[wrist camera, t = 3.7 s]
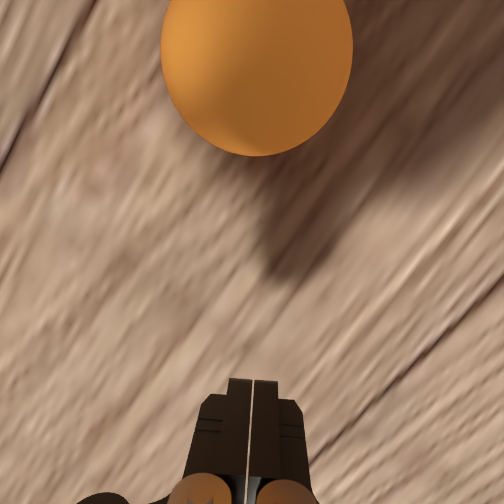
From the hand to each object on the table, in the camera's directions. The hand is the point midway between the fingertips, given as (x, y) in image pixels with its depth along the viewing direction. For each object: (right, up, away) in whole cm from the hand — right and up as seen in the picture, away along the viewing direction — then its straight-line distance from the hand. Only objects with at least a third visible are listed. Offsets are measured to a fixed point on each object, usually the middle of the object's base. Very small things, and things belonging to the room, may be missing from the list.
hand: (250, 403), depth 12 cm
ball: (0, +10, -2) cm, 10 cm away
